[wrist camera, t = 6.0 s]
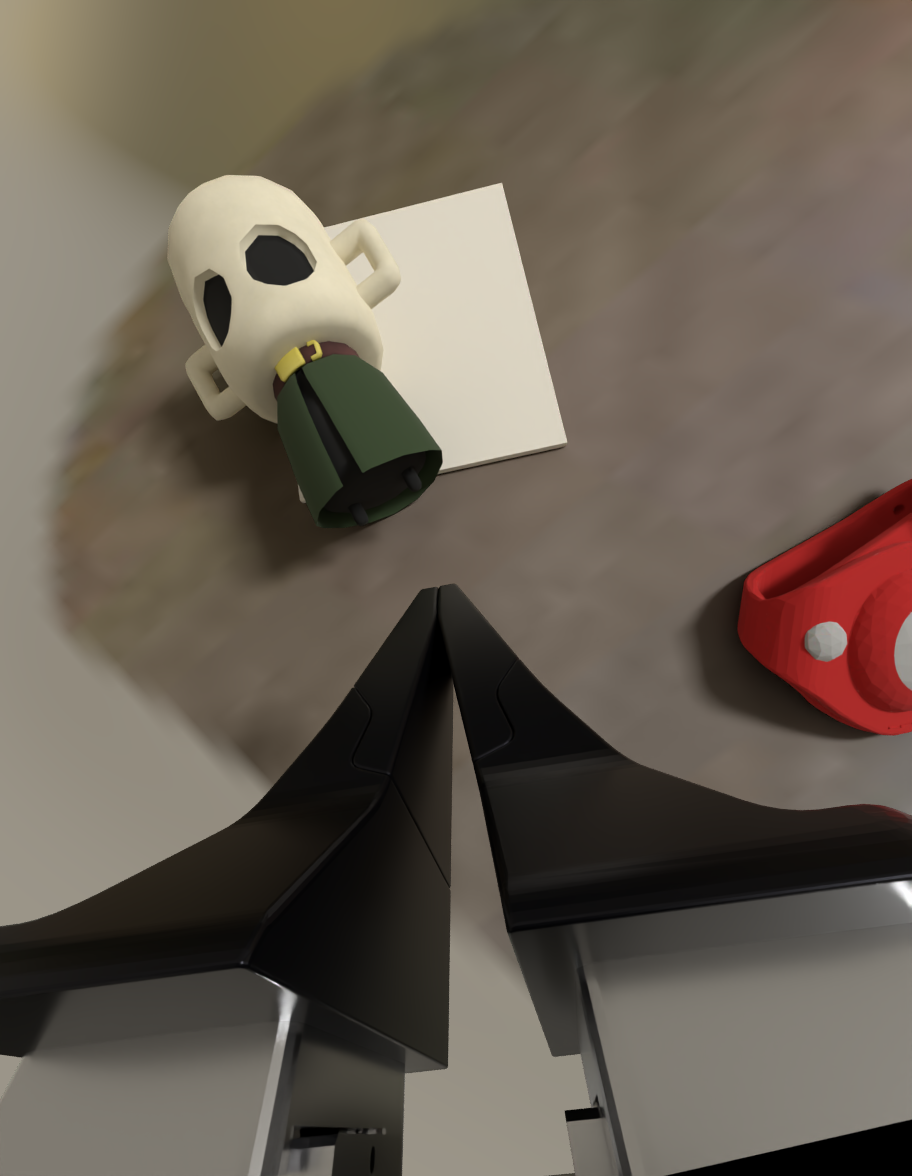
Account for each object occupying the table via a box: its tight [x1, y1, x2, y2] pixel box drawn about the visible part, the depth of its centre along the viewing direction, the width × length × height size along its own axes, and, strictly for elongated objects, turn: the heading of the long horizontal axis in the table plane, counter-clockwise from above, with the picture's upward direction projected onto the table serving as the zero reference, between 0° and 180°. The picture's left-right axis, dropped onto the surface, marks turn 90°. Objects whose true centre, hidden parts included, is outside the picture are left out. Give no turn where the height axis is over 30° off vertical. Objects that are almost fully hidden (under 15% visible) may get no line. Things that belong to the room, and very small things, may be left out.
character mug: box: [168, 175, 443, 528], centre depth 18 cm, size 11×7×13 cm
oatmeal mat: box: [298, 183, 567, 503], centre depth 22 cm, size 16×14×1 cm
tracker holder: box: [737, 479, 912, 735], centre depth 17 cm, size 12×4×10 cm
